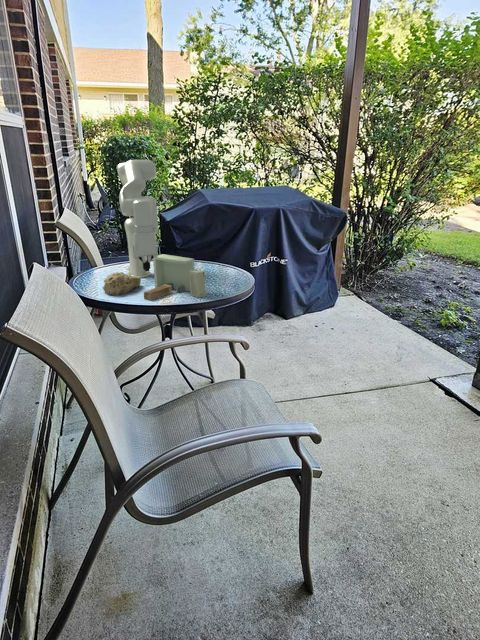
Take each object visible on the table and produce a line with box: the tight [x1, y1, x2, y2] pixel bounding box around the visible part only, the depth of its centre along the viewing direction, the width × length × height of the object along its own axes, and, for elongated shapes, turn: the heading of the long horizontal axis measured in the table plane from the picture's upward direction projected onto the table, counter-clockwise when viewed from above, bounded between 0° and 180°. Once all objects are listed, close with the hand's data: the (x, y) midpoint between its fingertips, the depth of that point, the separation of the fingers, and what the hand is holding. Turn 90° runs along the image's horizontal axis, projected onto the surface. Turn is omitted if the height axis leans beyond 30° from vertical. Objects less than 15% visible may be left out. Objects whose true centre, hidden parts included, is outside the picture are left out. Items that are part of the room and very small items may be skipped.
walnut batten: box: [143, 284, 173, 301], centre depth 197 cm, size 4×15×4 cm, turn 148°
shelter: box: [152, 253, 195, 294], centre depth 204 cm, size 20×7×16 cm, turn 58°
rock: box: [102, 271, 142, 296], centre depth 206 cm, size 21×14×10 cm
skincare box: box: [190, 269, 207, 299], centre depth 196 cm, size 6×4×12 cm
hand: (146, 270), depth 187 cm, fingers closed
